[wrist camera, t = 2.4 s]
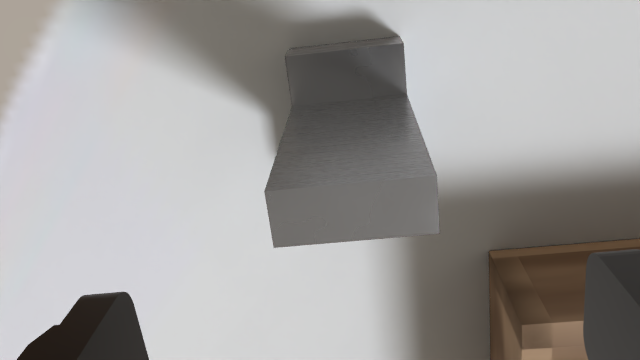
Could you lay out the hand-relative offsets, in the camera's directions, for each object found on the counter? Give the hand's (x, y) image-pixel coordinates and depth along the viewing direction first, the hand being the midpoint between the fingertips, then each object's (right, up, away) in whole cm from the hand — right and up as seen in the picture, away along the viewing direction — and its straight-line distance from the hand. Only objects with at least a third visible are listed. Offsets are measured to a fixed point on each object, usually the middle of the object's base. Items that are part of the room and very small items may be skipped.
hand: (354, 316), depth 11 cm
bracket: (+1, +5, +12) cm, 13 cm away
